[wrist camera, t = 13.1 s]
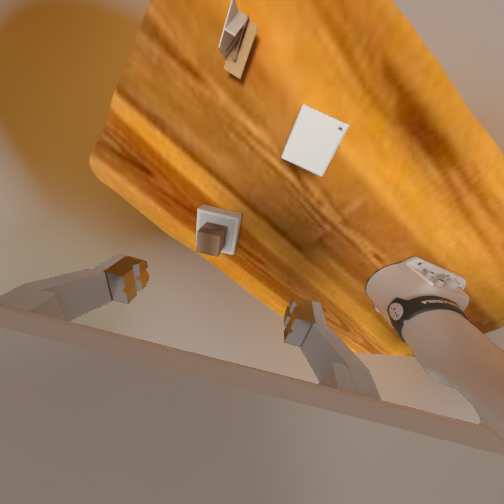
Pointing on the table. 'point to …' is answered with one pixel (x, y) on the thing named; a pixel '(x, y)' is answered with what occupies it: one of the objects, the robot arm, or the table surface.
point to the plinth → (221, 218)
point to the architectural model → (236, 40)
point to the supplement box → (313, 140)
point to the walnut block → (211, 239)
